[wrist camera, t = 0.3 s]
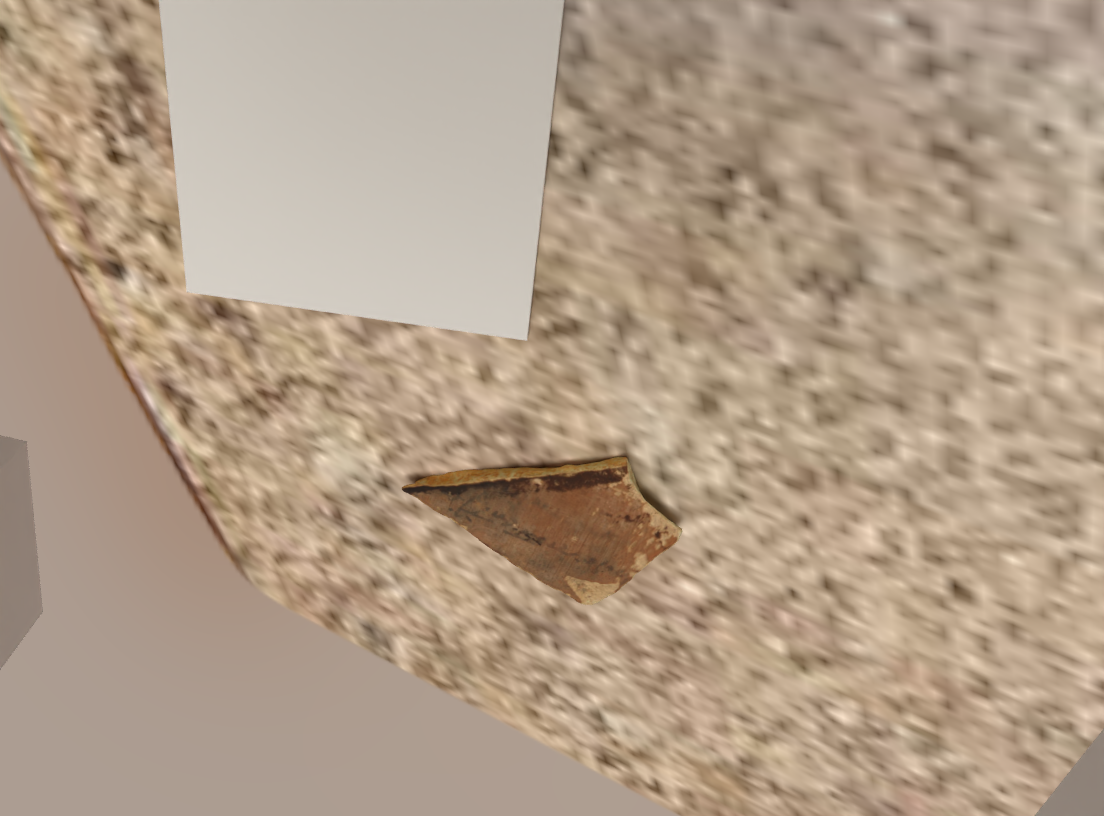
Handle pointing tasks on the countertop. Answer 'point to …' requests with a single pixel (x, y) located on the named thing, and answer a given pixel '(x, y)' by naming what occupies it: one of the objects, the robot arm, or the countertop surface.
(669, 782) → the countertop surface
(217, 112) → the mat
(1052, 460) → the countertop surface
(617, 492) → the shard
